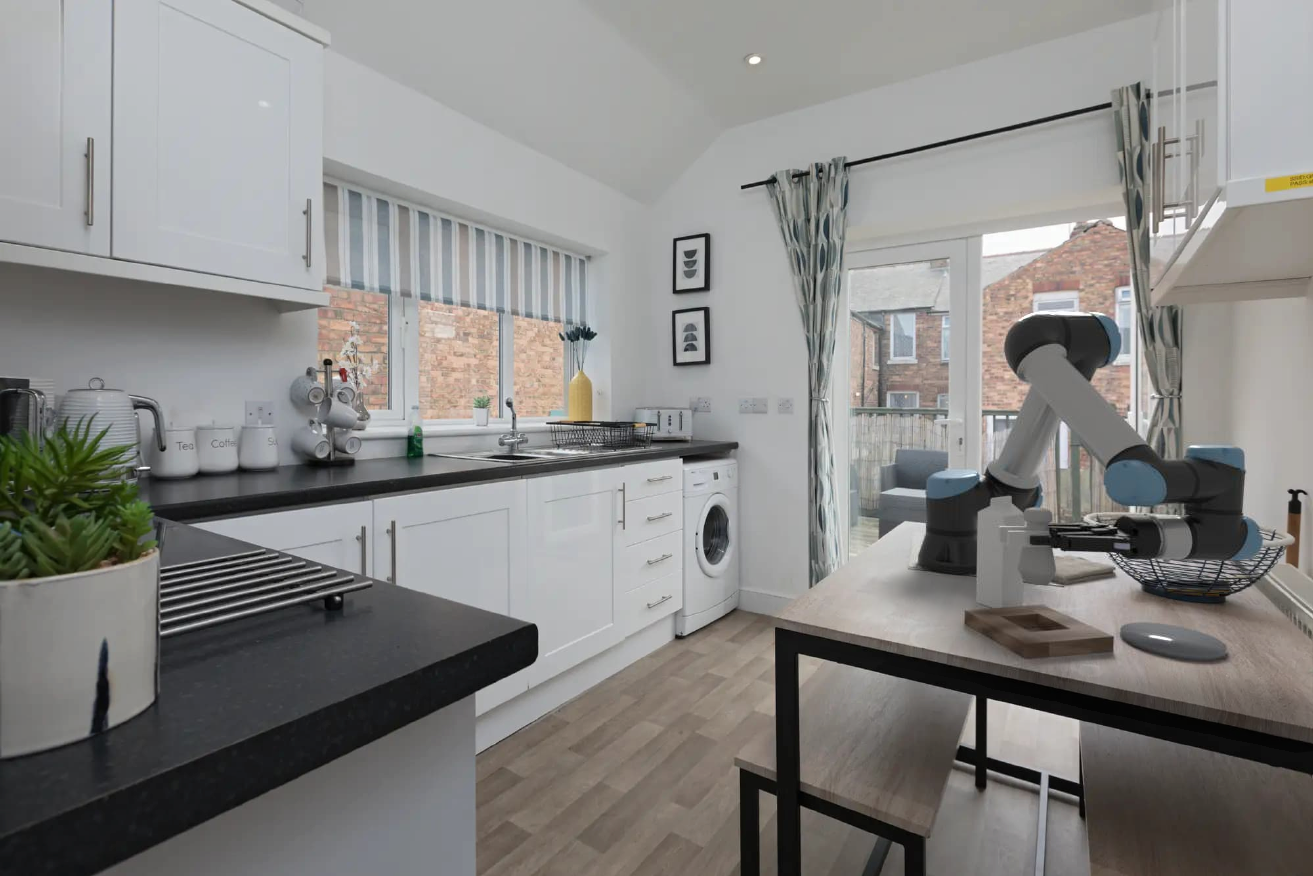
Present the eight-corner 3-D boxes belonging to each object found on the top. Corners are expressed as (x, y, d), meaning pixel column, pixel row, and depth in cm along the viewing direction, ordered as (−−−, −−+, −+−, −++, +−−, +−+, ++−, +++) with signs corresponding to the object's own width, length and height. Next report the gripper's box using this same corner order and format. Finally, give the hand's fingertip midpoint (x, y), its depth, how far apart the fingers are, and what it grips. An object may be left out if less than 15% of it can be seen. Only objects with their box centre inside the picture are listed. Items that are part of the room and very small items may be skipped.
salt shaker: (1062, 587, 108) (1064, 511, 107) (1026, 586, 109) (1027, 511, 108) (1046, 577, 114) (1047, 505, 113) (1011, 576, 114) (1013, 505, 113)
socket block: (964, 623, 119) (964, 610, 119) (1041, 617, 121) (1042, 604, 121) (1025, 658, 103) (1026, 643, 103) (1113, 651, 105) (1113, 636, 105)
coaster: (1100, 630, 114) (1100, 625, 114) (1168, 625, 116) (1168, 619, 116) (1174, 663, 100) (1174, 657, 100) (1250, 656, 102) (1250, 650, 102)
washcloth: (1119, 576, 147) (1119, 563, 146) (1066, 587, 140) (1066, 573, 140) (1068, 564, 158) (1068, 551, 157) (1017, 573, 151) (1017, 560, 151)
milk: (1022, 607, 127) (1026, 498, 125) (1001, 611, 125) (1005, 500, 123) (995, 598, 133) (998, 493, 131) (975, 602, 130) (977, 495, 128)
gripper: (1180, 572, 101) (1023, 570, 104) (1120, 547, 117) (985, 546, 120) (1182, 525, 100) (1024, 525, 103) (1121, 506, 116) (986, 506, 119)
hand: (1003, 536), depth 111 cm, fingers closed on salt shaker, 3 cm apart
